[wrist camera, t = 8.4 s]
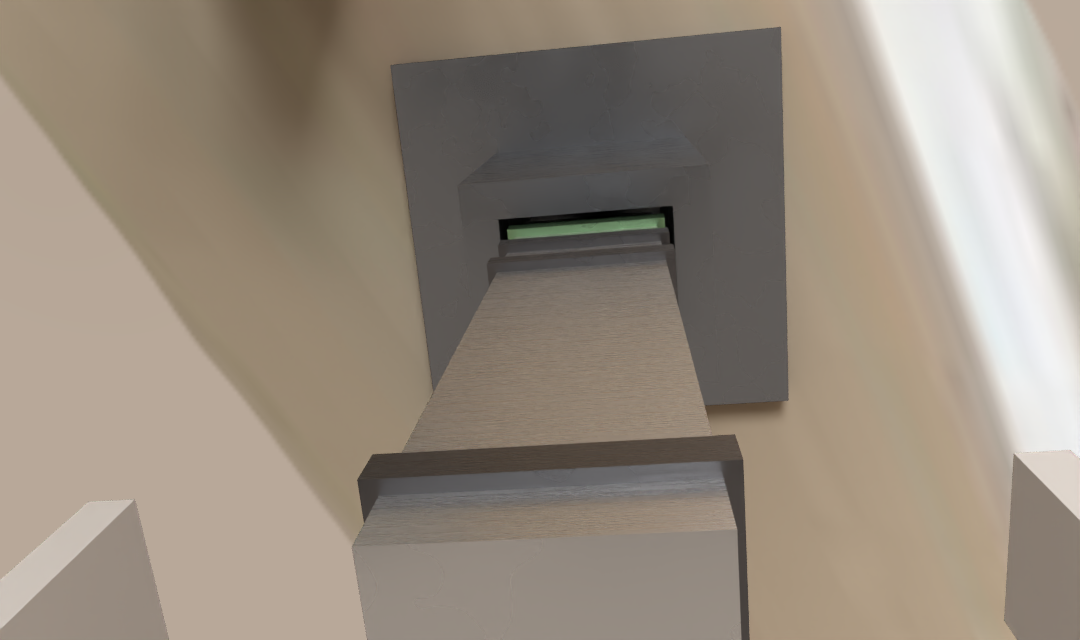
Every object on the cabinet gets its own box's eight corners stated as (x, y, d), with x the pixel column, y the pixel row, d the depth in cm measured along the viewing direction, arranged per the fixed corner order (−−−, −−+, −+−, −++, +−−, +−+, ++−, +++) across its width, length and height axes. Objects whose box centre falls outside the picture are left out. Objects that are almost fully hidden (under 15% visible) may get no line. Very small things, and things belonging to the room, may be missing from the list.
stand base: (395, 64, 39) (308, 68, 28) (776, 27, 38) (847, 15, 26) (441, 413, 44) (381, 538, 32) (784, 392, 42) (848, 517, 31)
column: (515, 215, 32) (328, 528, 11) (660, 204, 31) (758, 508, 10) (529, 352, 33) (386, 867, 12) (667, 342, 33) (770, 862, 12)
